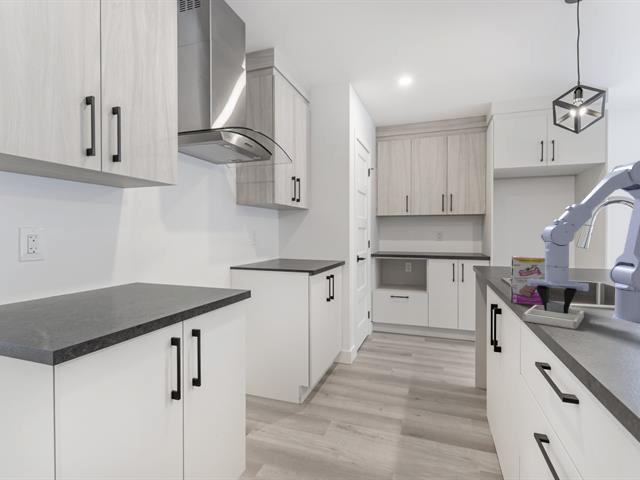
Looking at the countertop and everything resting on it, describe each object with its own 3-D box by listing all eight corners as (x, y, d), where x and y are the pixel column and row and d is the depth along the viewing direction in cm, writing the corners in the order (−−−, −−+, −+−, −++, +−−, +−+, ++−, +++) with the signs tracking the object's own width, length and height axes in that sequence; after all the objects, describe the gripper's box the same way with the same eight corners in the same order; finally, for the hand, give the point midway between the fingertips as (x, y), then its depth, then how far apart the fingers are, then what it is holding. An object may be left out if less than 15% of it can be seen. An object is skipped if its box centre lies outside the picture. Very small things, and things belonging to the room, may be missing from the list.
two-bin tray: (535, 312, 107) (535, 304, 107) (583, 319, 99) (583, 310, 98) (522, 322, 96) (523, 313, 96) (576, 331, 88) (576, 321, 88)
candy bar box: (510, 304, 118) (511, 257, 117) (510, 301, 122) (510, 255, 122) (549, 307, 113) (550, 257, 112) (547, 304, 117) (548, 256, 116)
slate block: (549, 313, 103) (549, 300, 102) (565, 316, 100) (565, 302, 100) (546, 316, 100) (546, 302, 100) (563, 318, 97) (563, 304, 97)
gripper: (524, 265, 101) (524, 311, 102) (586, 269, 91) (585, 320, 92) (530, 263, 106) (530, 307, 107) (589, 267, 96) (589, 314, 97)
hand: (556, 312), depth 100 cm, fingers closed on slate block, 4 cm apart
